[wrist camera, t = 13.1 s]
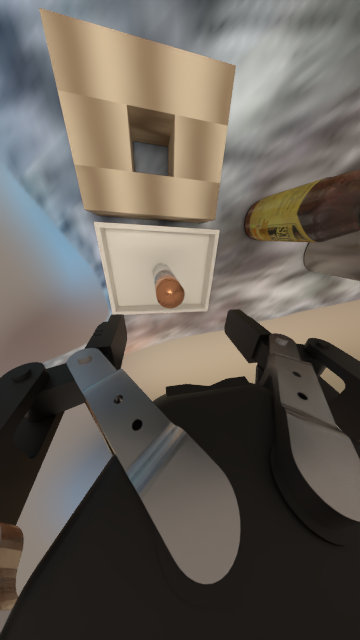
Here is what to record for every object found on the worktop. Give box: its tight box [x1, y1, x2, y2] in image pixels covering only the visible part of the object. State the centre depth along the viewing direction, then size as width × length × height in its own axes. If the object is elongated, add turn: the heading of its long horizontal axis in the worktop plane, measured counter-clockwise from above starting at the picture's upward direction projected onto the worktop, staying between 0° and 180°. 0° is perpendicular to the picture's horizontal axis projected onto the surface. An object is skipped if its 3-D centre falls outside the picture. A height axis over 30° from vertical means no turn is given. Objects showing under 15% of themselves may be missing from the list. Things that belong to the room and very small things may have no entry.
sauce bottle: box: [245, 170, 360, 242], centre depth 18 cm, size 6×6×20 cm
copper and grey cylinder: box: [153, 263, 185, 308], centre depth 21 cm, size 3×3×12 cm
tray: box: [94, 222, 220, 315], centre depth 26 cm, size 18×14×4 cm
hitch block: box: [39, 8, 236, 223], centre depth 18 cm, size 16×12×6 cm
